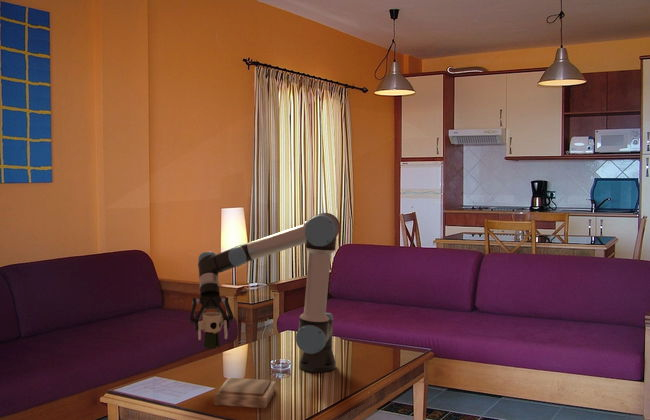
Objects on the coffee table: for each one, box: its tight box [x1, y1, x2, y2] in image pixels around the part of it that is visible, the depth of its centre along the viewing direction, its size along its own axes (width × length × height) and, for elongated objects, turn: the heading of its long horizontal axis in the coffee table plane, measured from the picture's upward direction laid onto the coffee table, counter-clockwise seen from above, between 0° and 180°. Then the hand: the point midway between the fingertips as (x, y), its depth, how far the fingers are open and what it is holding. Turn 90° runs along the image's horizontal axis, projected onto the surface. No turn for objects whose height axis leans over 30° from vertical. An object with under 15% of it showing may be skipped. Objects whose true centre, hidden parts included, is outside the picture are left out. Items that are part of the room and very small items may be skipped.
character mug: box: [199, 311, 224, 350], centre depth 252 cm, size 11×7×13 cm, turn 139°
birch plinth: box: [214, 377, 276, 409], centre depth 240 cm, size 18×18×4 cm
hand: (213, 337), depth 249 cm, fingers closed on character mug, 9 cm apart
